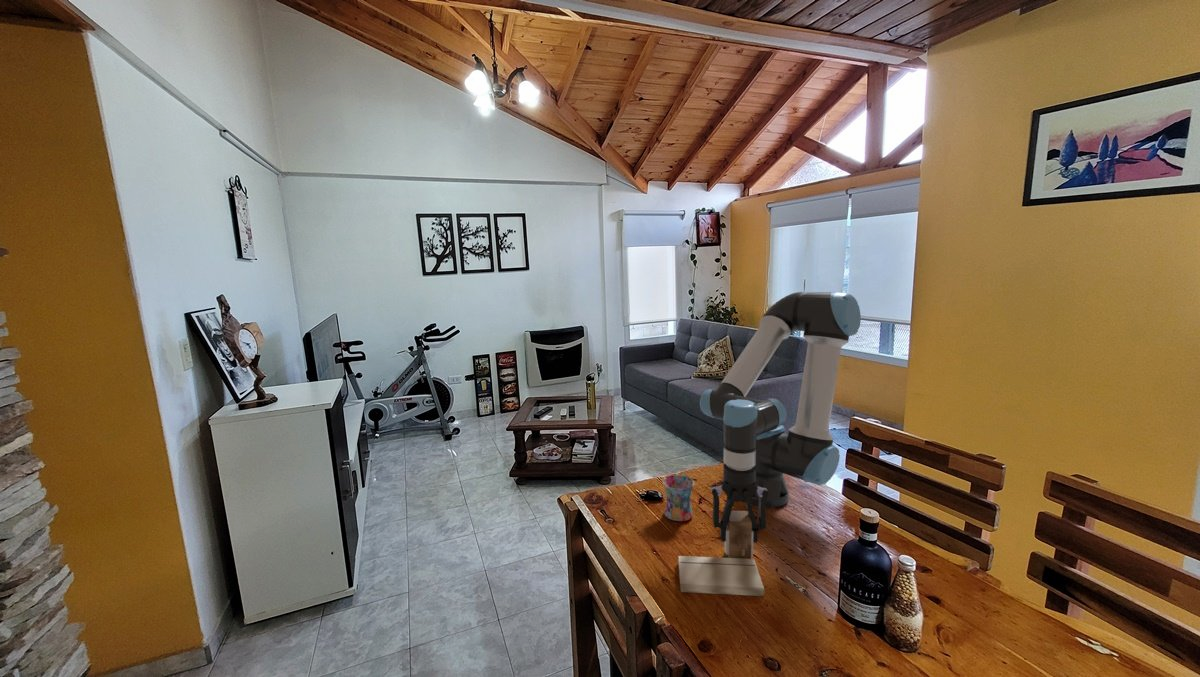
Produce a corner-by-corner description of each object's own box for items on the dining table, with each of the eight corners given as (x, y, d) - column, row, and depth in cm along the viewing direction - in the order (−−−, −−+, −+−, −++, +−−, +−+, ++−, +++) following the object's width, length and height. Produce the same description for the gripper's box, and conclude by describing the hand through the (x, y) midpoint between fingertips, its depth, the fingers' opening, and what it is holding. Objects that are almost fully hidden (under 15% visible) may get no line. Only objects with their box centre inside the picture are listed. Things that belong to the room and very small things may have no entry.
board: (753, 566, 109) (754, 558, 108) (763, 596, 99) (764, 587, 98) (678, 563, 111) (678, 555, 110) (680, 591, 101) (680, 583, 101)
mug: (682, 528, 126) (682, 492, 124) (656, 516, 132) (655, 482, 131) (705, 511, 134) (705, 477, 132) (679, 500, 140) (679, 468, 139)
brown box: (746, 551, 114) (747, 511, 113) (754, 574, 106) (755, 531, 104) (726, 550, 115) (726, 510, 113) (732, 573, 106) (733, 530, 105)
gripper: (774, 458, 111) (772, 544, 115) (699, 457, 113) (700, 542, 117) (782, 471, 104) (780, 563, 107) (703, 470, 106) (703, 560, 110)
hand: (738, 552), depth 112 cm, fingers closed on brown box, 5 cm apart
